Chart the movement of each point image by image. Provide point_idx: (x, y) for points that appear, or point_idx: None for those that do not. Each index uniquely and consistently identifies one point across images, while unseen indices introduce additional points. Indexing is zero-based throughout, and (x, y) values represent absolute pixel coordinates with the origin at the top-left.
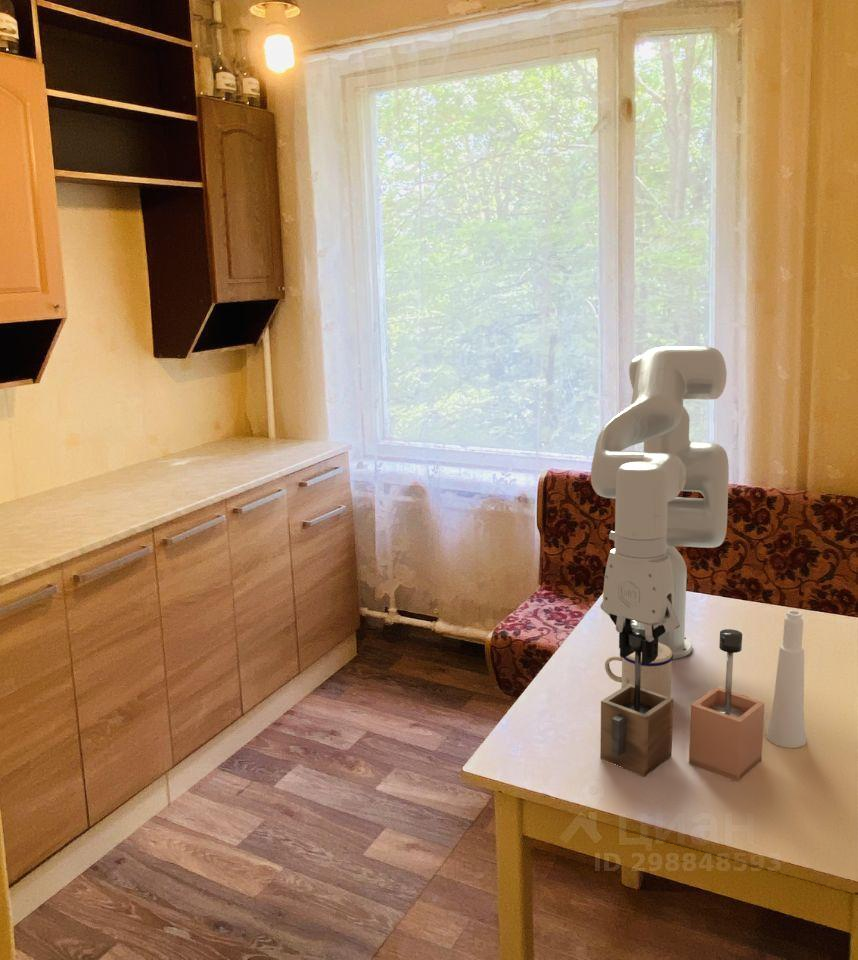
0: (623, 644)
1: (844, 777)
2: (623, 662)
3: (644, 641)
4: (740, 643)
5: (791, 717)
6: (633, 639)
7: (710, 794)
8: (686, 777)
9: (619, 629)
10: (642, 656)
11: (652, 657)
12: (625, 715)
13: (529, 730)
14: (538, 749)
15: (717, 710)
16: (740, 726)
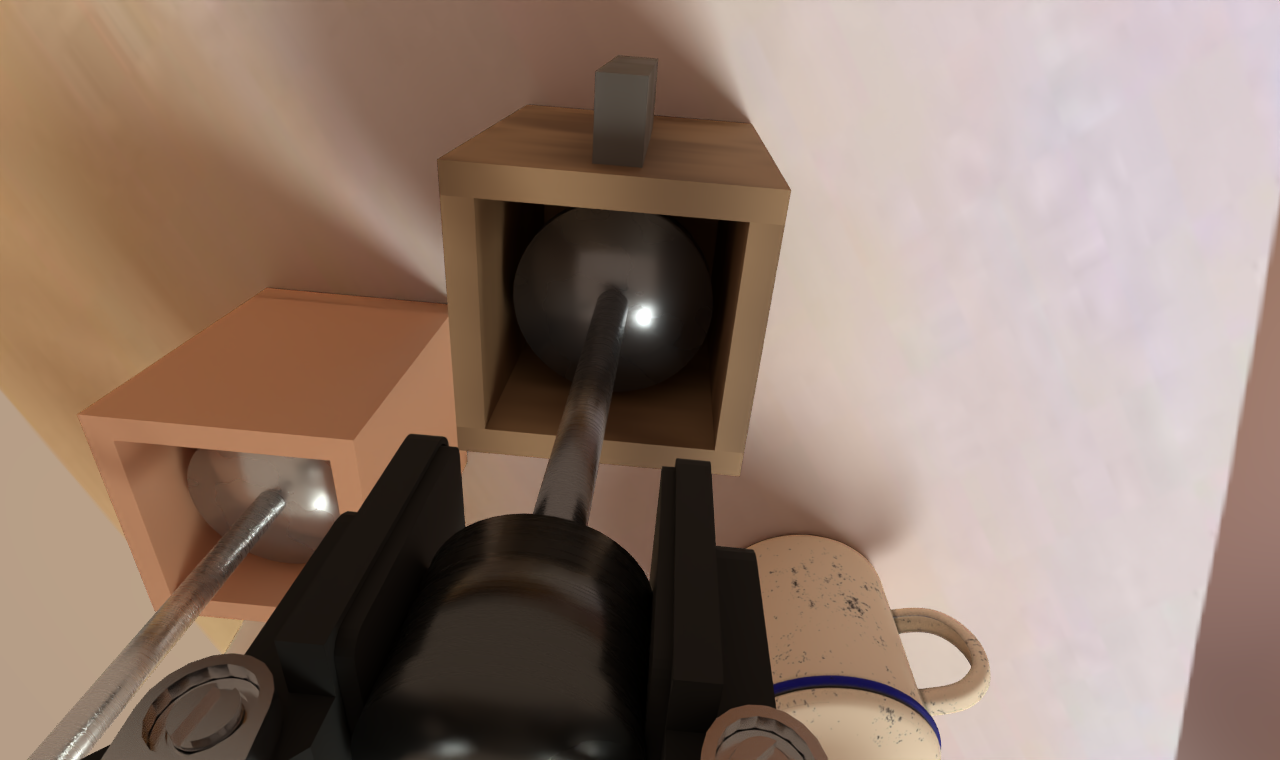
0: (670, 563)
1: (96, 489)
2: (902, 677)
3: (301, 636)
4: None
5: (241, 633)
6: (496, 637)
7: (278, 156)
8: (408, 211)
9: (760, 755)
10: (412, 481)
11: (337, 518)
12: (595, 163)
13: (1154, 141)
14: (1052, 5)
15: (316, 501)
16: (97, 403)
